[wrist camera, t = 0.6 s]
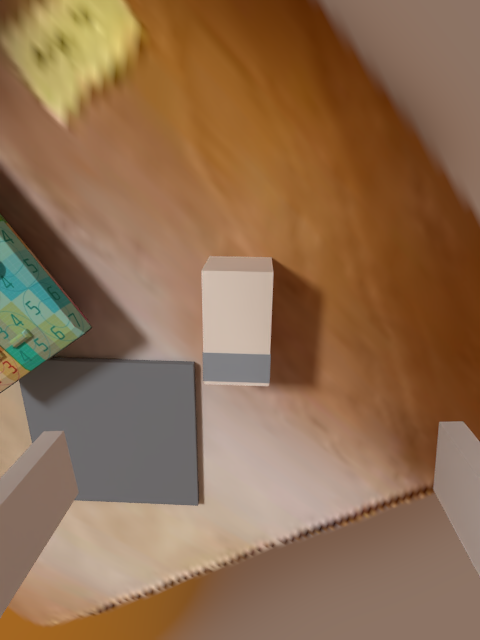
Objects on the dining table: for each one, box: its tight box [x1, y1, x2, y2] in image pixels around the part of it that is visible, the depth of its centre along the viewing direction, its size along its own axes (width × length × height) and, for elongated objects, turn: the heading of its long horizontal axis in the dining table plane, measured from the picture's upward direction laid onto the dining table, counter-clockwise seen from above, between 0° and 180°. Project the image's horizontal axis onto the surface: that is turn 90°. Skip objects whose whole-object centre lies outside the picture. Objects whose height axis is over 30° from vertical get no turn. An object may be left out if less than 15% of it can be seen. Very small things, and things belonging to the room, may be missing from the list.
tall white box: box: [202, 256, 274, 386], centre depth 32 cm, size 9×5×5 cm, turn 179°
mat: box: [19, 358, 199, 505], centre depth 39 cm, size 16×16×1 cm
